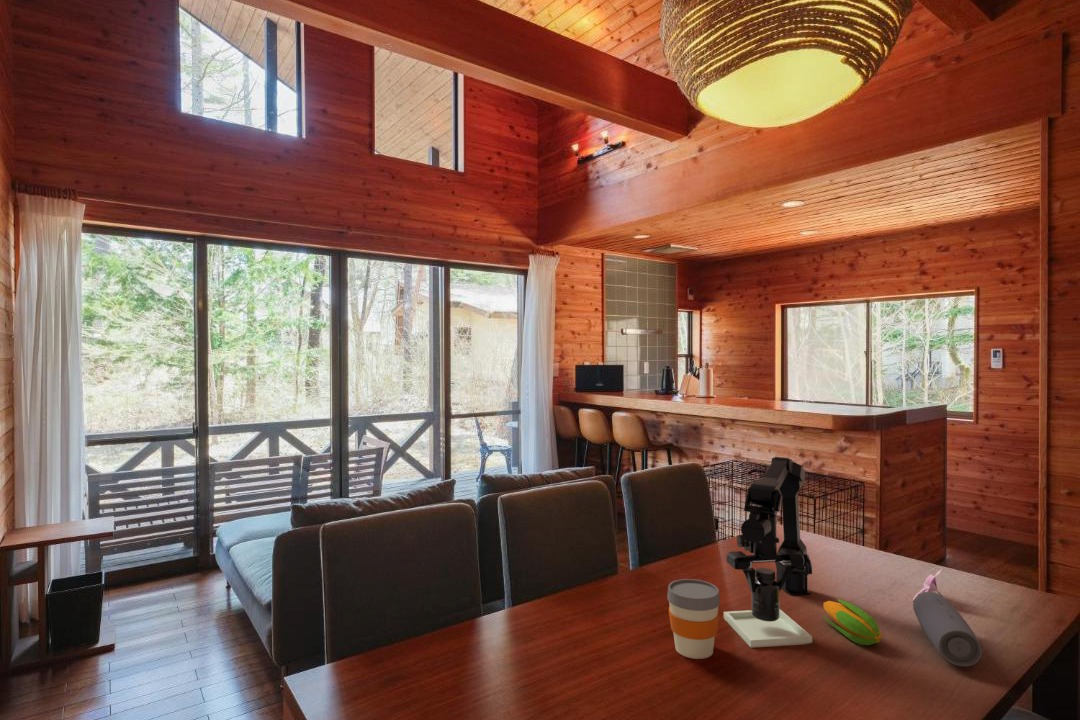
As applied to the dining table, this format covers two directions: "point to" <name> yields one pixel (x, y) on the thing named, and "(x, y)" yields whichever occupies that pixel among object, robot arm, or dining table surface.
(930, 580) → the lily
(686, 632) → the reusable coffee cup
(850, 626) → the corn
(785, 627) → the tray
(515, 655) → the dining table surface
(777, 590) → the supplement bottle
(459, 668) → the dining table surface
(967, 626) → the bluetooth speaker
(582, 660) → the dining table surface
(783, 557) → the robot arm
